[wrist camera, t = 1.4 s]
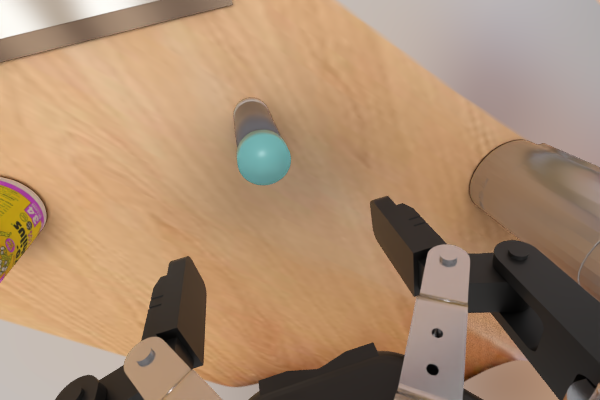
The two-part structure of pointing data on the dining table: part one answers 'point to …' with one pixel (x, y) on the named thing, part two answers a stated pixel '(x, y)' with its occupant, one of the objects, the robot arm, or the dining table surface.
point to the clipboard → (82, 20)
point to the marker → (259, 144)
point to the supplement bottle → (17, 222)
